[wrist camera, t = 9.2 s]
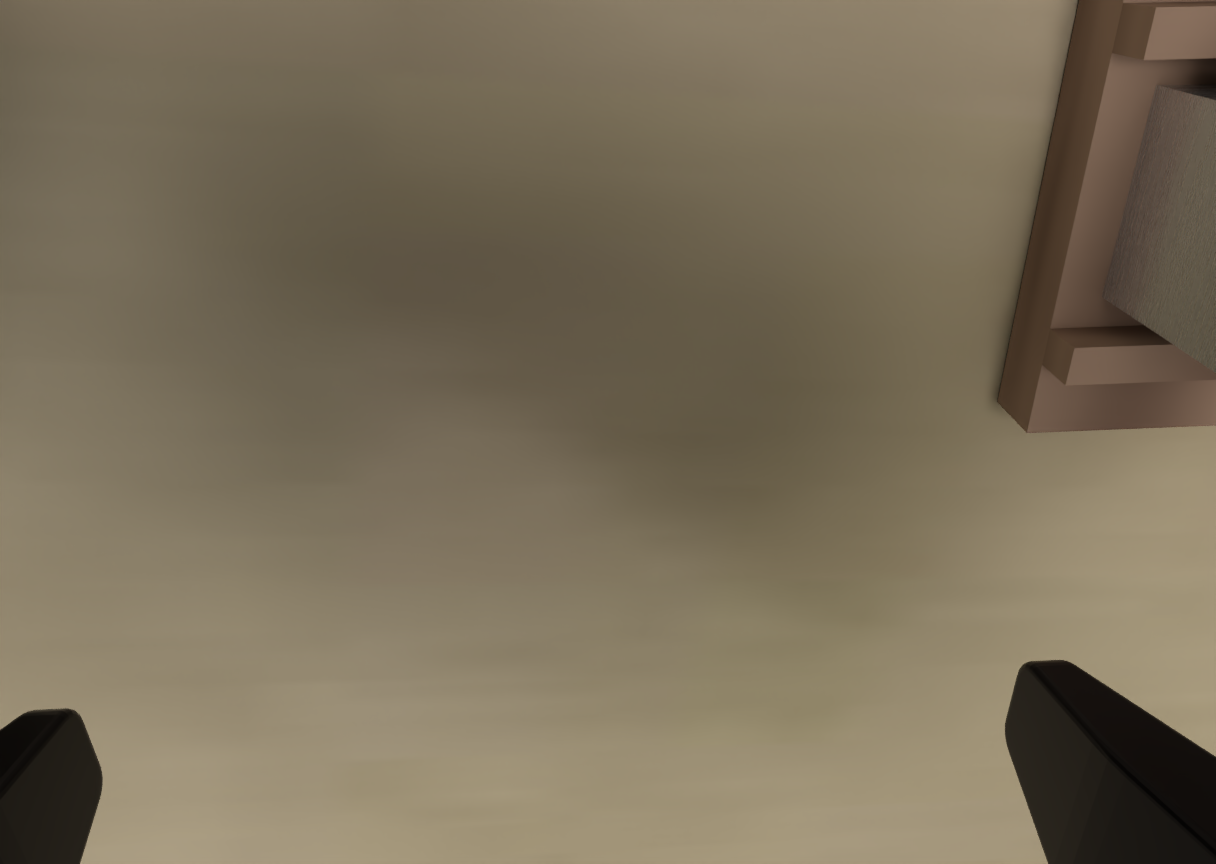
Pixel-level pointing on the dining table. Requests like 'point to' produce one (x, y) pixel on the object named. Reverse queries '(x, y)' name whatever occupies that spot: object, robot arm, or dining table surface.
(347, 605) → the dining table surface
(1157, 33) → the rail
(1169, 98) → the block
